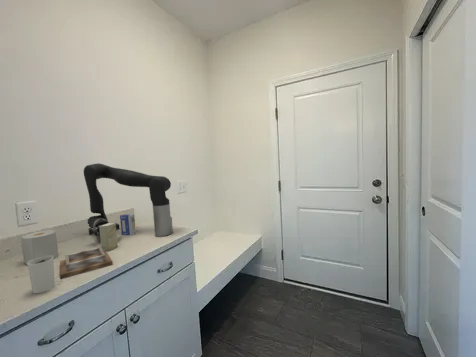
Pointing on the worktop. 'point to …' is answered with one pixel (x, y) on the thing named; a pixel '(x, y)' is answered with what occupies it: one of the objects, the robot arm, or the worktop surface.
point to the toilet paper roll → (39, 245)
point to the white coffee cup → (41, 274)
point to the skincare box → (108, 236)
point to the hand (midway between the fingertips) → (106, 231)
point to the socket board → (84, 262)
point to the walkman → (127, 225)
